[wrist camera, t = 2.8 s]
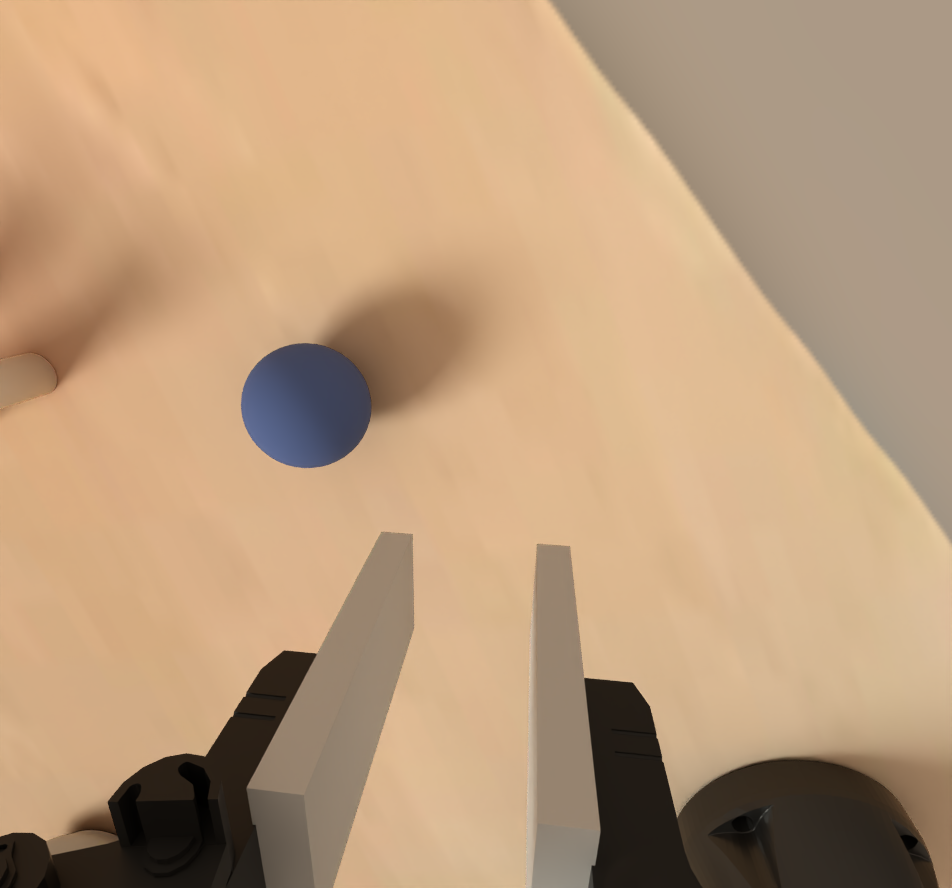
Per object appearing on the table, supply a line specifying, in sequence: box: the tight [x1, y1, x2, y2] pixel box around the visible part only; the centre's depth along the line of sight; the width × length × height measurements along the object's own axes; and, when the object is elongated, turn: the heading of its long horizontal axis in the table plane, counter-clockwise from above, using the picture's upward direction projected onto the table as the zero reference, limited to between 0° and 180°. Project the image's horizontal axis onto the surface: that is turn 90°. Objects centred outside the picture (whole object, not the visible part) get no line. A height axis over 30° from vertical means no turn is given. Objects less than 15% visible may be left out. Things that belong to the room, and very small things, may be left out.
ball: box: [241, 343, 371, 468], centre depth 27 cm, size 6×6×6 cm
